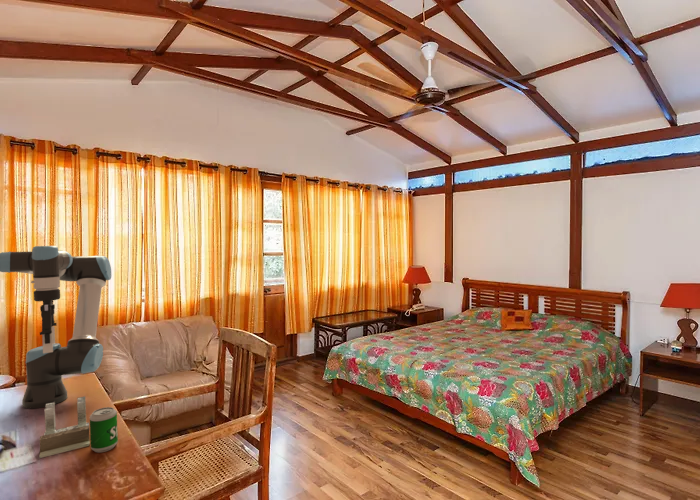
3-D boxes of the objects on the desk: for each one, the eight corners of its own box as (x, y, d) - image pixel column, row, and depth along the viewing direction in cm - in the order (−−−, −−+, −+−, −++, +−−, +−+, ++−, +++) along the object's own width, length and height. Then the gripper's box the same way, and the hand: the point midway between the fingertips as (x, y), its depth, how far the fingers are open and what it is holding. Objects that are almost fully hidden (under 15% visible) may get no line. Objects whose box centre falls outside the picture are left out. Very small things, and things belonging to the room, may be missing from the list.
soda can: (105, 454, 126) (103, 416, 126) (84, 452, 128) (83, 415, 127) (123, 442, 133) (122, 406, 133) (103, 441, 135) (102, 405, 135)
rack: (44, 434, 141) (43, 404, 140) (89, 423, 148) (87, 395, 148) (42, 442, 135) (41, 411, 135) (89, 431, 142) (88, 401, 142)
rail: (40, 452, 127) (39, 439, 127) (40, 448, 129) (40, 436, 129) (89, 440, 134) (89, 428, 134) (89, 437, 136) (88, 425, 136)
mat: (41, 448, 131) (41, 446, 131) (89, 437, 138) (89, 434, 138) (39, 458, 125) (39, 455, 125) (89, 445, 132) (89, 443, 132)
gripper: (36, 286, 153) (39, 342, 153) (29, 293, 132) (32, 358, 132) (61, 285, 157) (63, 339, 157) (58, 291, 136) (60, 354, 136)
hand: (49, 348), depth 145 cm, fingers open, 13 cm apart
